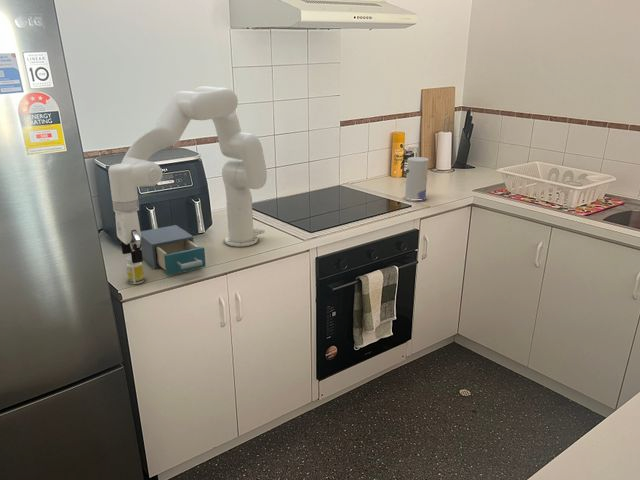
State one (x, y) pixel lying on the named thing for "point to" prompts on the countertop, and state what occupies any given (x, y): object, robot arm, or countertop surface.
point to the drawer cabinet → (160, 241)
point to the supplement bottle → (134, 271)
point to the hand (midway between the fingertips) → (132, 257)
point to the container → (416, 178)
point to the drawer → (180, 257)
